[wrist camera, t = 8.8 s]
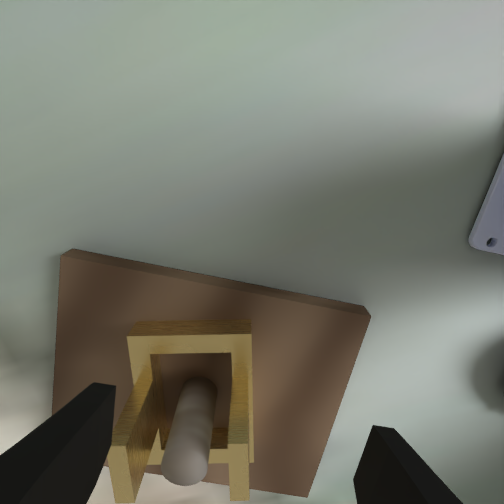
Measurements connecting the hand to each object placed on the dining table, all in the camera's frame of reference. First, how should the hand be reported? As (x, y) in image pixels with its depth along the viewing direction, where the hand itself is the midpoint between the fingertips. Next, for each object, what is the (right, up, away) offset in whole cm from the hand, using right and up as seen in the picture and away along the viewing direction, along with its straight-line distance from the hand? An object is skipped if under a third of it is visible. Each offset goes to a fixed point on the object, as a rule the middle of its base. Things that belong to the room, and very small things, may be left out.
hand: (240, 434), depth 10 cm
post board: (-3, -2, +11) cm, 12 cm away
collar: (-3, -2, +10) cm, 10 cm away
